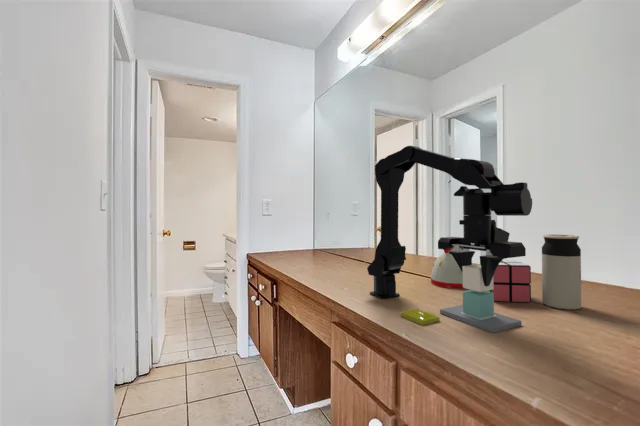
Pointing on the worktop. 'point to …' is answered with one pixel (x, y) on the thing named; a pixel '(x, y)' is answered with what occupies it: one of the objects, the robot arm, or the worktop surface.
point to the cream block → (474, 278)
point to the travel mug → (561, 272)
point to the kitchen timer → (447, 272)
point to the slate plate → (482, 319)
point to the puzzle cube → (512, 282)
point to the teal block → (478, 303)
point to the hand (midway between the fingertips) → (477, 283)
